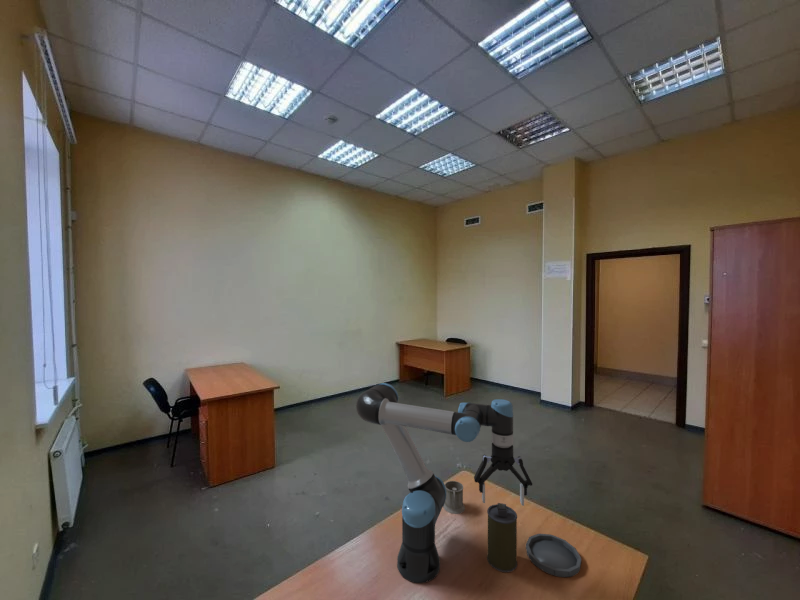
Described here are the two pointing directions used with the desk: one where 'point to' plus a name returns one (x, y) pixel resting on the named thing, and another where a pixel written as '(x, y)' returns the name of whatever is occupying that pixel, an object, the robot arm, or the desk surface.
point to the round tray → (553, 555)
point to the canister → (502, 537)
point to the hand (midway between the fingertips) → (502, 502)
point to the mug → (454, 497)
